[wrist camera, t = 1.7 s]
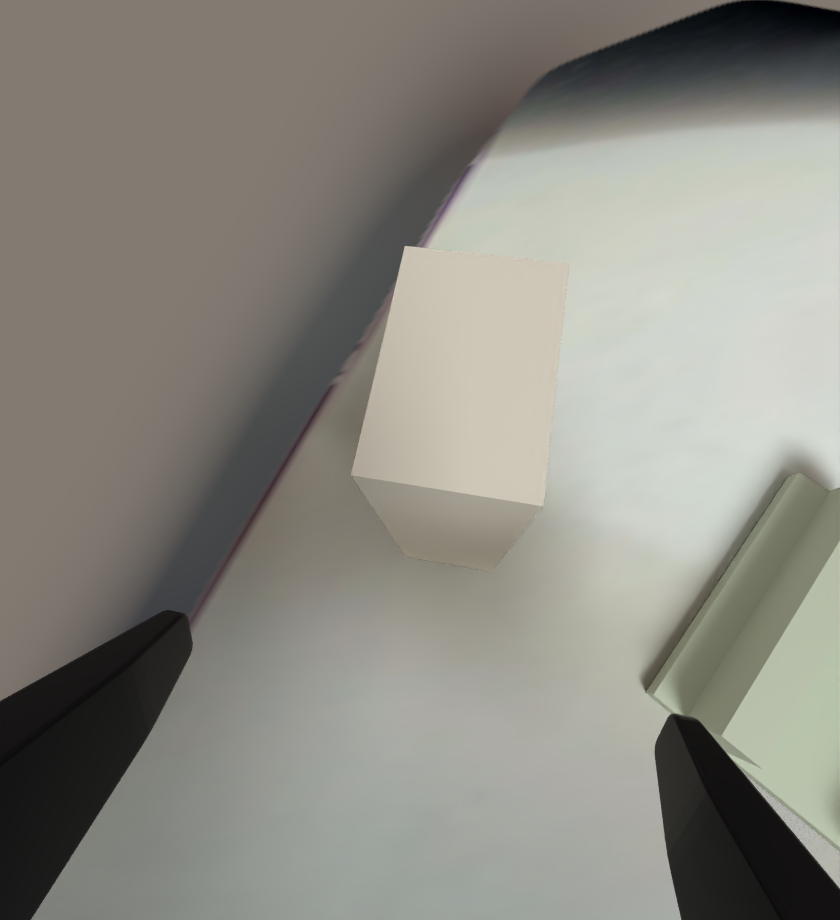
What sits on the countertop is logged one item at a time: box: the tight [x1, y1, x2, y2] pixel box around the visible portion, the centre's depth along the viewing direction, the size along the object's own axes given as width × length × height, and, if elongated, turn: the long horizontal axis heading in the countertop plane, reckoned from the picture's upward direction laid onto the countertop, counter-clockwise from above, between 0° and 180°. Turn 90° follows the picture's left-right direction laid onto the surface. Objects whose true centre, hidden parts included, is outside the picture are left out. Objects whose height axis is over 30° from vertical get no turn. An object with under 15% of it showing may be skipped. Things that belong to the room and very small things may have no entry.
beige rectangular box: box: [351, 246, 569, 572], centre depth 17 cm, size 6×4×13 cm, turn 170°
